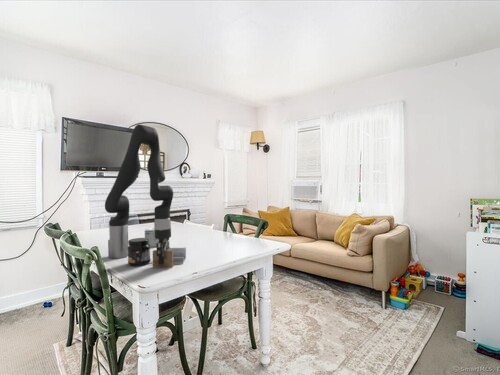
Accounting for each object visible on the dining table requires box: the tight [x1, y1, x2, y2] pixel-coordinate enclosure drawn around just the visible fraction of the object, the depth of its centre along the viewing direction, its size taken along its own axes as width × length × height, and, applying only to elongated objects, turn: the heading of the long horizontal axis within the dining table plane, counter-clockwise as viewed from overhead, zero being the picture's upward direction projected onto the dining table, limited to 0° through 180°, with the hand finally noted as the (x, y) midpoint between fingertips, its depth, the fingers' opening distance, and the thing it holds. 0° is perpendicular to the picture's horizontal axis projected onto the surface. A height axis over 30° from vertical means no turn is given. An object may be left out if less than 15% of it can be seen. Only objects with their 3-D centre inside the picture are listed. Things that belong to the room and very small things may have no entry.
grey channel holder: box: [169, 246, 187, 265], centre depth 139 cm, size 13×9×6 cm
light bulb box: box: [144, 227, 159, 248], centre depth 173 cm, size 11×7×11 cm, turn 108°
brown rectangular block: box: [152, 249, 174, 269], centre depth 131 cm, size 9×3×8 cm, turn 93°
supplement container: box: [127, 237, 151, 267], centre depth 136 cm, size 10×10×12 cm
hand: (163, 261), depth 131 cm, fingers open, 8 cm apart
